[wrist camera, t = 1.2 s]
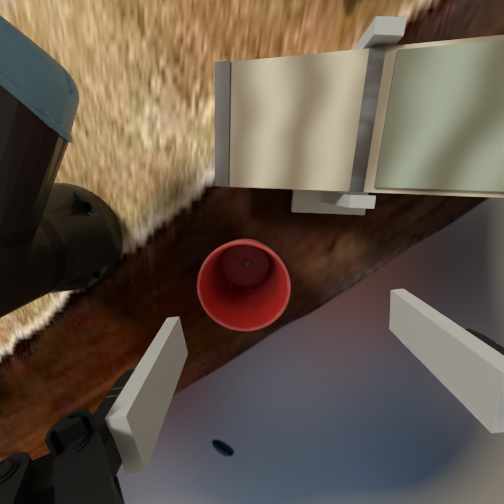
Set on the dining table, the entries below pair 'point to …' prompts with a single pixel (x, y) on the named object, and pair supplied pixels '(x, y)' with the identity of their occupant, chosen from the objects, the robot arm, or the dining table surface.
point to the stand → (343, 202)
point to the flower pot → (244, 285)
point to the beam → (366, 120)
